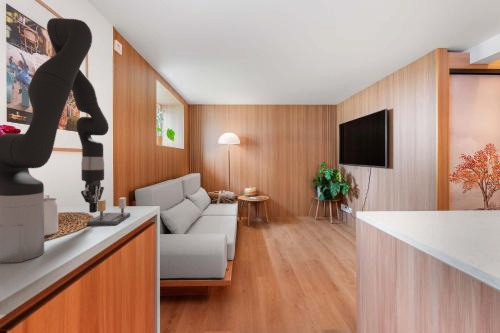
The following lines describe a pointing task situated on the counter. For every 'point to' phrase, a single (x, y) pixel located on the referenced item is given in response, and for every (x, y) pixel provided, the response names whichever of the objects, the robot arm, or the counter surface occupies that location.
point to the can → (50, 216)
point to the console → (108, 219)
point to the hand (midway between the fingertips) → (93, 212)
